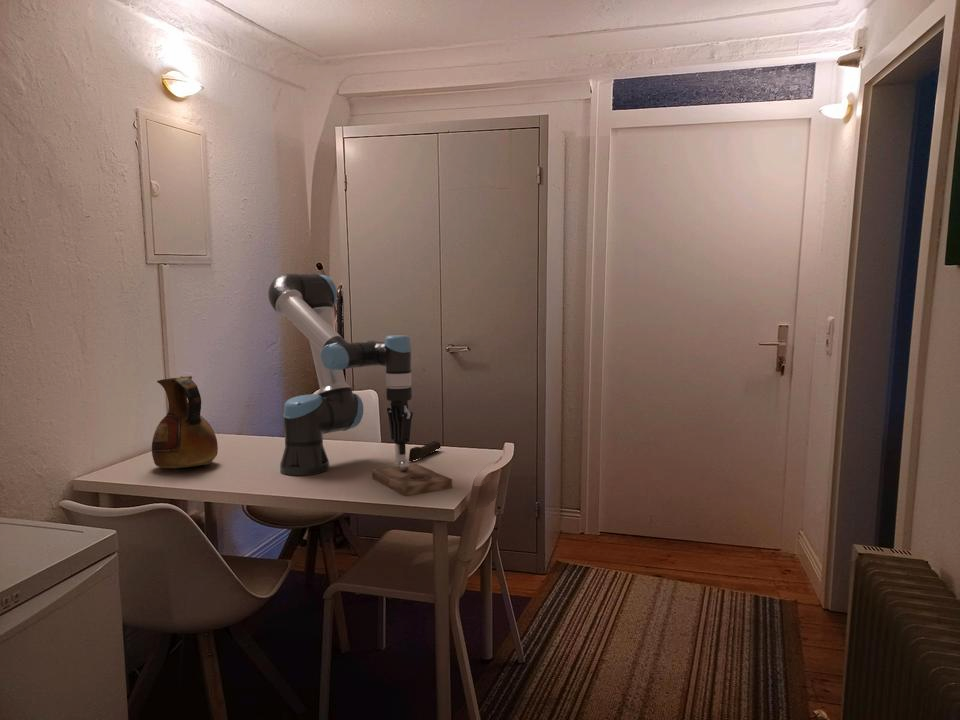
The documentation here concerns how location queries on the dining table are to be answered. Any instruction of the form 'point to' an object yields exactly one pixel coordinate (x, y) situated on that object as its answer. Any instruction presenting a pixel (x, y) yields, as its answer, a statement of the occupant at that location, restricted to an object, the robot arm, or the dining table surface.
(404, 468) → the steel ball
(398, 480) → the walnut plate
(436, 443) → the hand tool
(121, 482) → the dining table surface
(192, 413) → the ceramic pitcher
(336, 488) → the dining table surface
